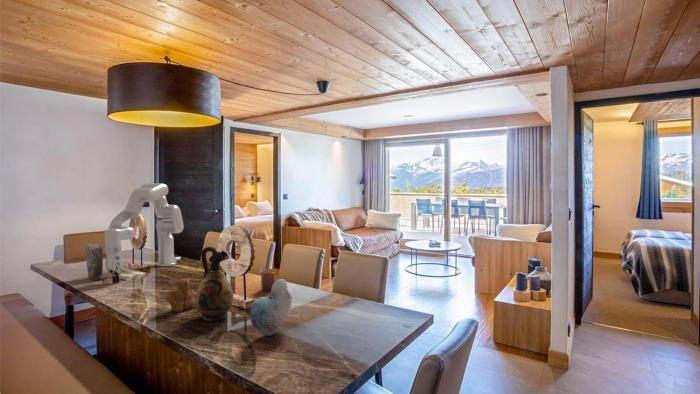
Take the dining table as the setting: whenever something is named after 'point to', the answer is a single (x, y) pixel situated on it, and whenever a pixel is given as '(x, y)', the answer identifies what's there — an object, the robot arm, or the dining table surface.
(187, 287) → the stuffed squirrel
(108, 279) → the marking gauge
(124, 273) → the birch board
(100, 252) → the stone block
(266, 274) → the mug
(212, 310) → the ceramic jug
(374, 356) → the dining table surface
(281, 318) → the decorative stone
